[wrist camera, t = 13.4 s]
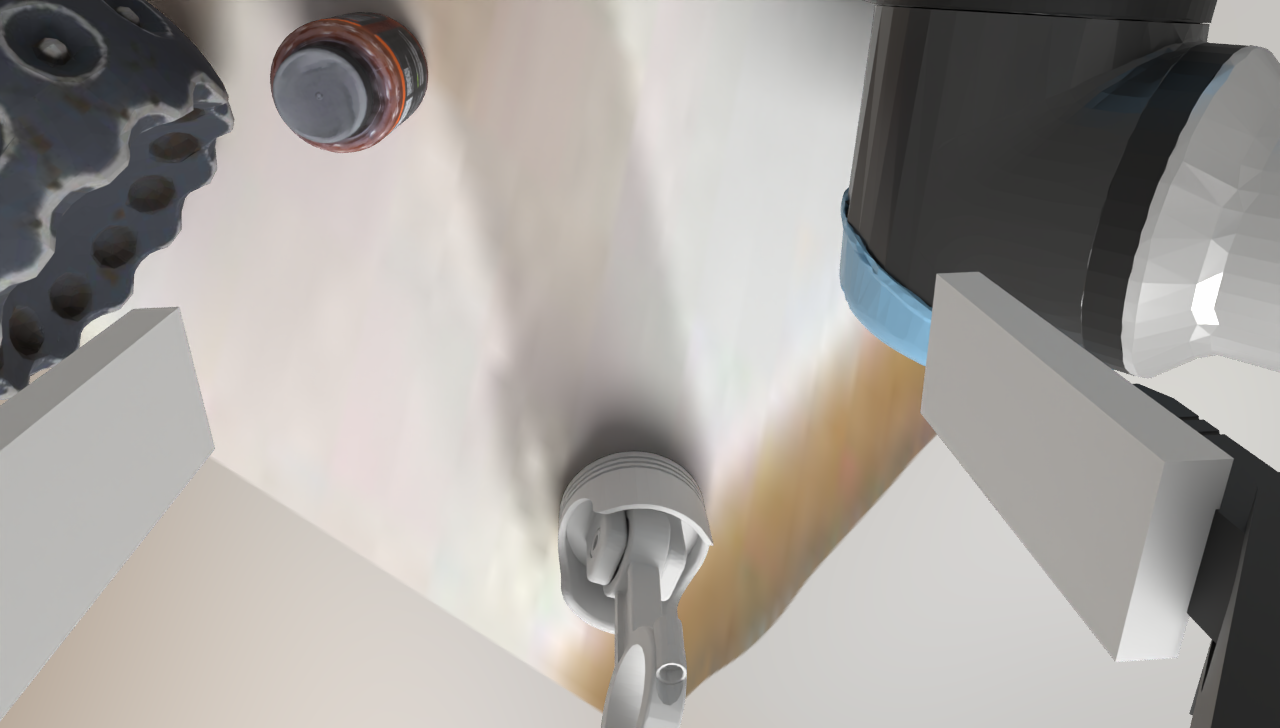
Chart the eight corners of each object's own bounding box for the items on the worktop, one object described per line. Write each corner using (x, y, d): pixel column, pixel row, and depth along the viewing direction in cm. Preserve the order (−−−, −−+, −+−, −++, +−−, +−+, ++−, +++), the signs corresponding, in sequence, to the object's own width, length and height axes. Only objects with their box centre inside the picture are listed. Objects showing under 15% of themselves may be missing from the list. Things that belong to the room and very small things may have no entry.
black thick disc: (-52, 223, 50) (-422, 364, 31) (106, -86, 44) (-233, -133, 26) (128, 329, 53) (-113, 514, 35) (297, 54, 47) (116, 100, 29)
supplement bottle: (296, 52, 47) (215, 71, 37) (384, -12, 46) (326, -10, 36) (367, 147, 49) (309, 190, 39) (453, 88, 48) (417, 117, 38)
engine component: (726, 475, 59) (587, 433, 57) (792, 702, 41) (589, 651, 39) (668, 598, 63) (536, 562, 61) (703, 857, 45) (515, 818, 43)
